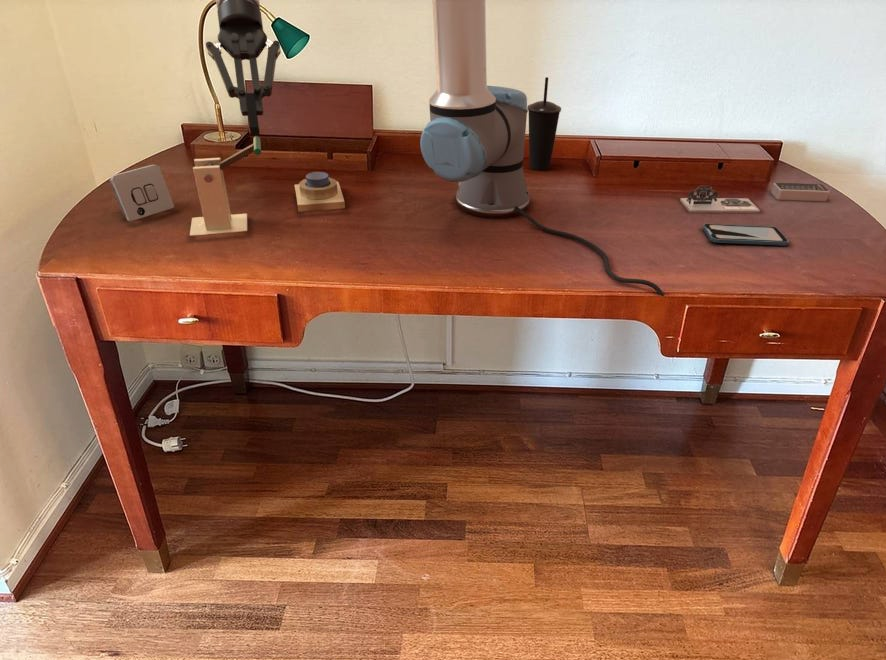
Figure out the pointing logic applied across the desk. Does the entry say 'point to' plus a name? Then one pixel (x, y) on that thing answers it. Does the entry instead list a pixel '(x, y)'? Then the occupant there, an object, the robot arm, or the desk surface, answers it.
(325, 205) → the button box
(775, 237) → the smartphone
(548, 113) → the drinking cup
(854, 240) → the desk surface
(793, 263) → the desk surface
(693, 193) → the car cutout
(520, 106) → the robot arm
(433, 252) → the desk surface
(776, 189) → the multiport hub
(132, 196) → the electrical switch
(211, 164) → the lever
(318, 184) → the button
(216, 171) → the switch bracket
